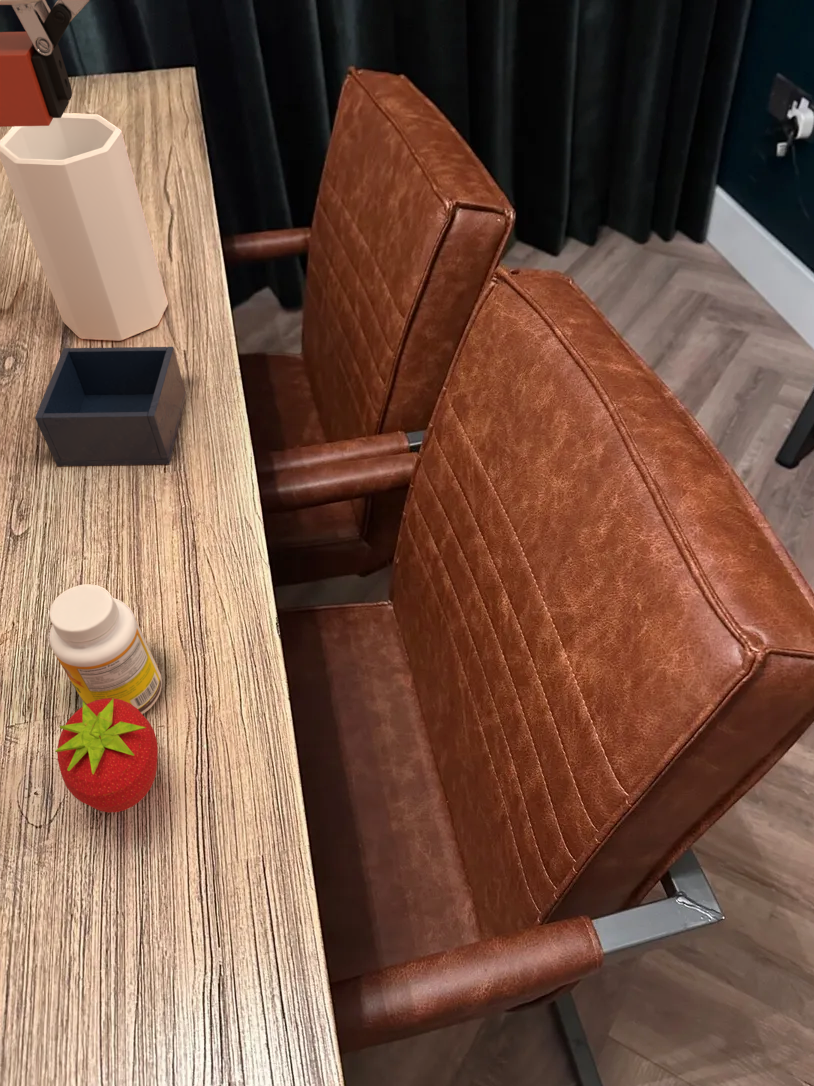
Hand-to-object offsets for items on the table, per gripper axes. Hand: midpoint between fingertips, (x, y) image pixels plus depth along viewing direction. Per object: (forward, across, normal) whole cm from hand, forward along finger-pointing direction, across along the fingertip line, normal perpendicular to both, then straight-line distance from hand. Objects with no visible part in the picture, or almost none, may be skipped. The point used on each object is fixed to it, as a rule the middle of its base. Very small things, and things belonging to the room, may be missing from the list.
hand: (22, 108), depth 63 cm
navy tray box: (+28, 0, +2) cm, 28 cm away
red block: (0, 0, 0) cm, 0 cm away
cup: (+28, +4, -17) cm, 33 cm away
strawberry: (+28, -7, +40) cm, 50 cm away
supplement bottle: (+28, -5, +32) cm, 43 cm away
